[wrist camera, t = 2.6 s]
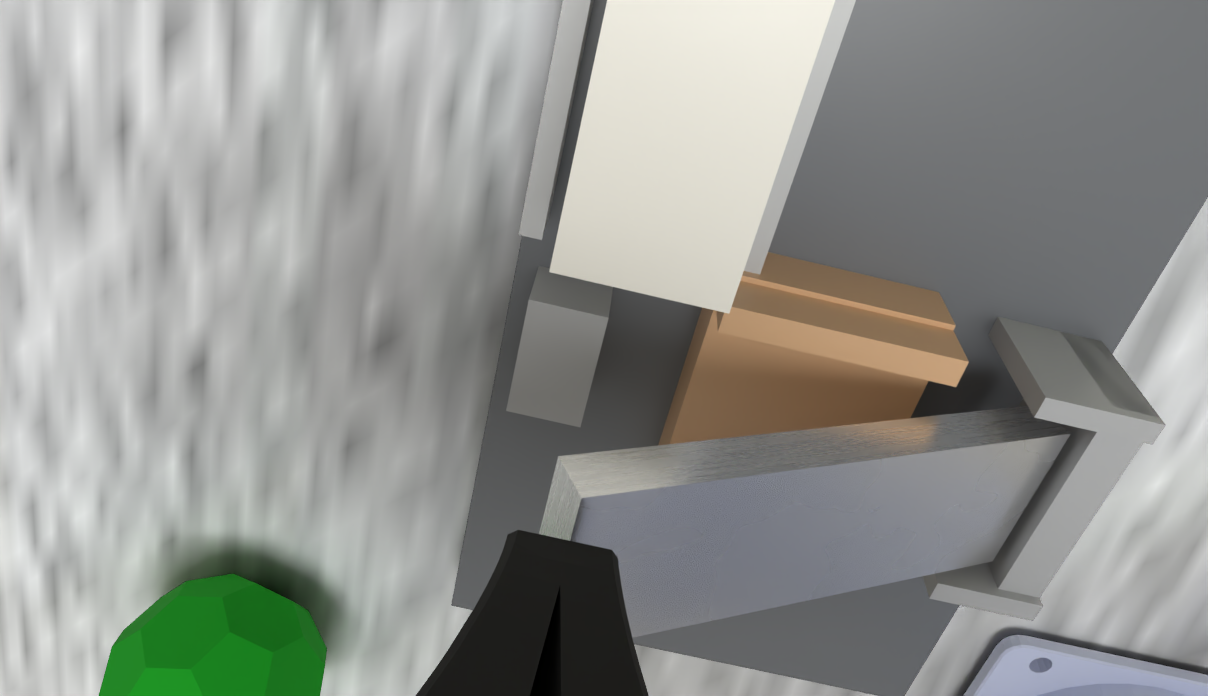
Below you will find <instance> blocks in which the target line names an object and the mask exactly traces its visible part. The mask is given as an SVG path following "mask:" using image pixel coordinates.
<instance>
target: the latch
mask: <svg viewBox="0 0 1208 696" xmlns="http://www.w3.org/2000/svg"><path fill="white" fill-rule="evenodd" d="M834 3H835V0H607V3H606V8H605V13H604V18H603V22H602V27H601V32H600V36H599V41H598V46H597V50H596V55H595V60H594V64H593V69H592V74H591V78H590V83H589V88H588V92H587V97H586V102H585V106H584V111H583V116H582V120H581V125H580V130H579V134H578V139H577V144H576V149H575V153H574V158H573V163H572V167H571V172H570V177H569V181H568V186H567V191H566V195H565V200H564V205H563V209H562V214H561V219H560V223H559V228H558V233H557V237H556V242H555V247H554V251H553V256H552V261H551V266H550V270H549V272H551V273H556V274H560V275H564V276H568V277H573V278H577V279H581V280H586V281H590V282H594V283H599V284H603V285H607V286H612V287H616V288H620V289H625V290H629V291H633V292H638V293H642V294H646V295H650V296H655V297H659V298H663V299H668V300H672V301H676V302H681V303H685V304H689V305H694V306H698V307H702V308H707V309H711V310H715V311H720V312H724V313H728V314H729V313H730V310H731V307H732V304H733V301H734V298H735V295H736V292H737V289H738V286H739V283H740V280H741V277H742V275H743V272H744V269H745V266H746V263H747V260H748V257H749V254H750V251H751V248H752V245H753V242H754V239H755V236H756V233H757V230H758V227H759V224H760V221H761V218H762V215H763V213H764V210H765V207H766V204H767V201H768V198H769V195H770V192H771V189H772V186H773V183H774V180H775V177H776V174H777V171H778V168H779V165H780V162H781V159H782V156H783V153H784V151H785V148H786V145H787V142H788V139H789V136H790V133H791V130H792V127H793V124H794V121H795V118H796V115H797V112H798V109H799V106H800V103H801V100H802V97H803V94H804V91H805V89H806V86H807V83H808V80H809V77H810V74H811V71H812V68H813V65H814V62H815V59H816V56H817V53H818V50H819V47H820V44H821V41H822V38H823V35H824V32H825V29H826V27H827V24H828V21H829V18H830V15H831V12H832V9H833V6H834Z"/></svg>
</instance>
